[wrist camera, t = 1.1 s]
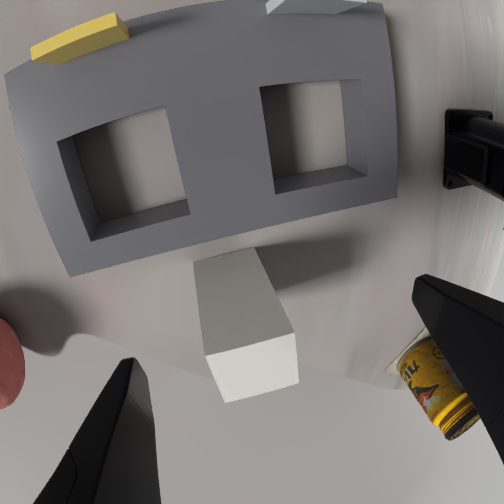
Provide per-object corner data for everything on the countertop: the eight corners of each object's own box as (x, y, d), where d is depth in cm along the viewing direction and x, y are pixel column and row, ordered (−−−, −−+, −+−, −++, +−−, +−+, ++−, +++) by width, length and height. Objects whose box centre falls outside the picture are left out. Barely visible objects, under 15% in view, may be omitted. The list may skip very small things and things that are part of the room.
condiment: (383, 370, 32) (433, 449, 21) (432, 316, 29) (497, 392, 19) (411, 376, 35) (455, 442, 25) (454, 329, 32) (508, 393, 22)
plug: (254, 247, 20) (294, 332, 13) (262, 295, 22) (298, 382, 15) (193, 262, 20) (205, 355, 13) (207, 309, 22) (225, 402, 15)
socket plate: (359, 10, 14) (416, -5, 9) (375, 184, 20) (427, 216, 15) (24, 75, 11) (-28, 75, 7) (80, 256, 17) (55, 310, 13)
